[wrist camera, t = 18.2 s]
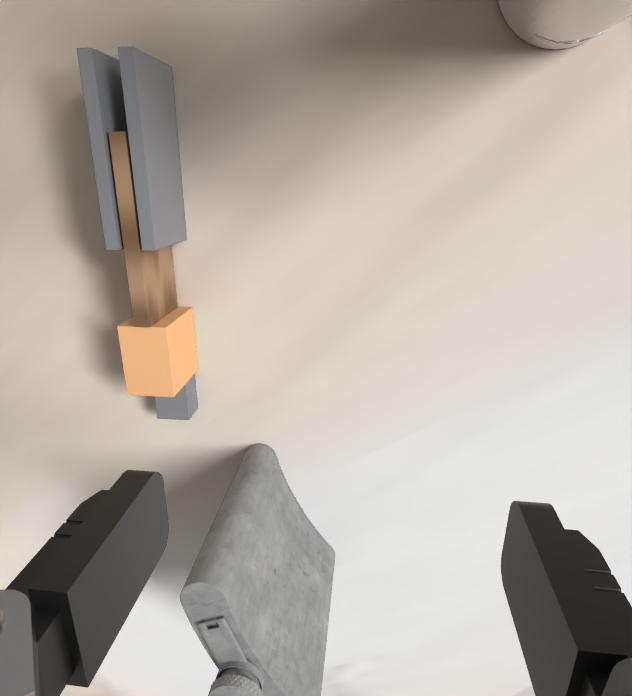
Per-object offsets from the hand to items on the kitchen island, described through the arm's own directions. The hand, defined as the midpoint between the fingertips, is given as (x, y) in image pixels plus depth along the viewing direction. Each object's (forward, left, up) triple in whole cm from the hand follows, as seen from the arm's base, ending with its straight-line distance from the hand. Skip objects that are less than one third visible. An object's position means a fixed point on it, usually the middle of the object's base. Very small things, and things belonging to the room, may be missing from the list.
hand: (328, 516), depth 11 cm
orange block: (+7, -17, -32) cm, 37 cm away
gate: (-3, -17, -32) cm, 36 cm away
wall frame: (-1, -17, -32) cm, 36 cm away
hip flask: (+25, -7, -32) cm, 41 cm away
